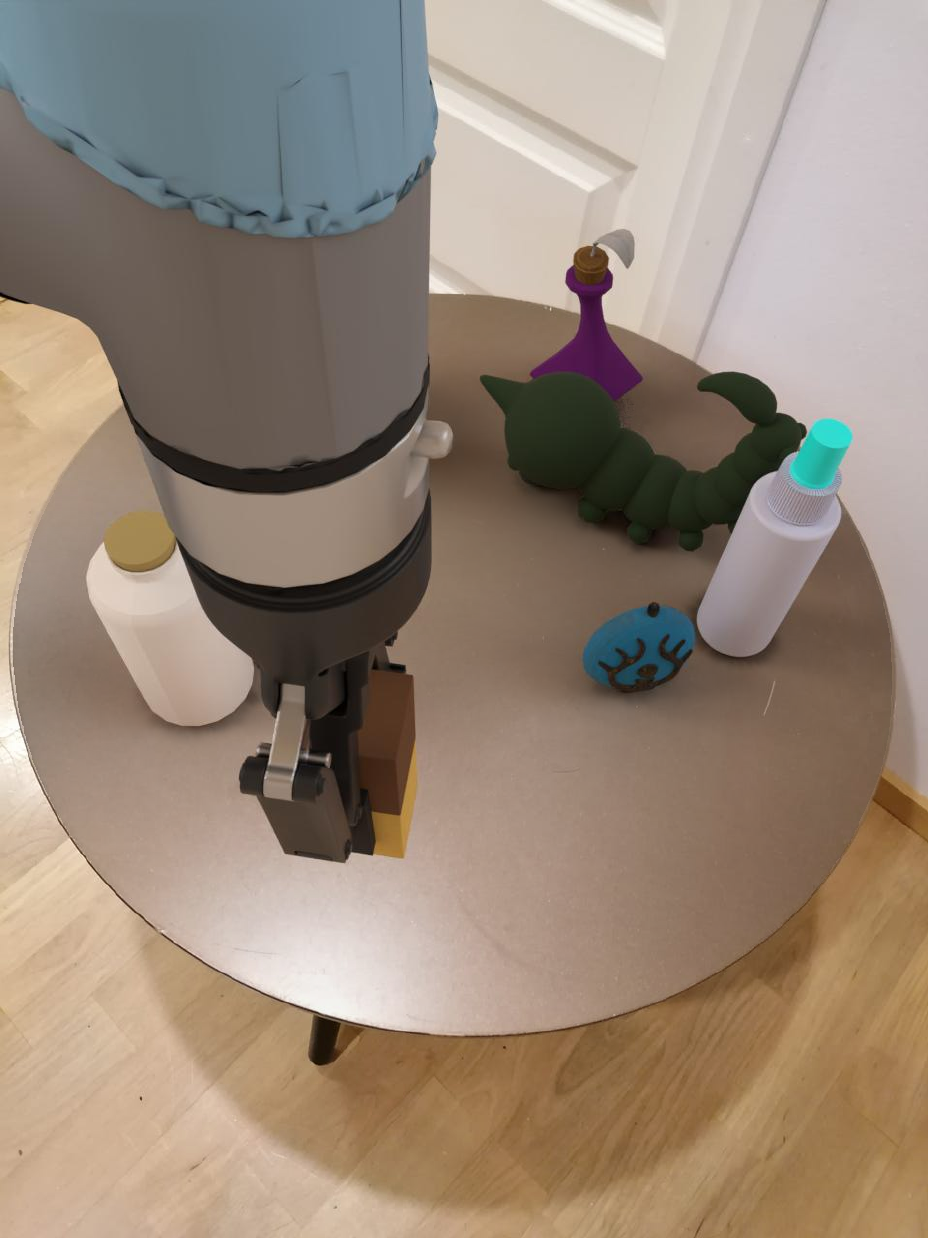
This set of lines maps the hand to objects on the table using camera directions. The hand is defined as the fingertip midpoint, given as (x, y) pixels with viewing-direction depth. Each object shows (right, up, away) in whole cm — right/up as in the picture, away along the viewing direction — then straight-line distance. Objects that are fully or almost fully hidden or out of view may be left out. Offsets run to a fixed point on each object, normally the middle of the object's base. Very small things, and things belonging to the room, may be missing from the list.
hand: (357, 798), depth 47 cm
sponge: (0, -1, +2) cm, 2 cm away
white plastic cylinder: (-15, +4, +24) cm, 29 cm away
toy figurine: (+18, +19, +35) cm, 44 cm away
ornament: (+18, +4, +26) cm, 32 cm away
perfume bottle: (+16, +29, +42) cm, 53 cm away
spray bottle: (+27, +8, +28) cm, 40 cm away
